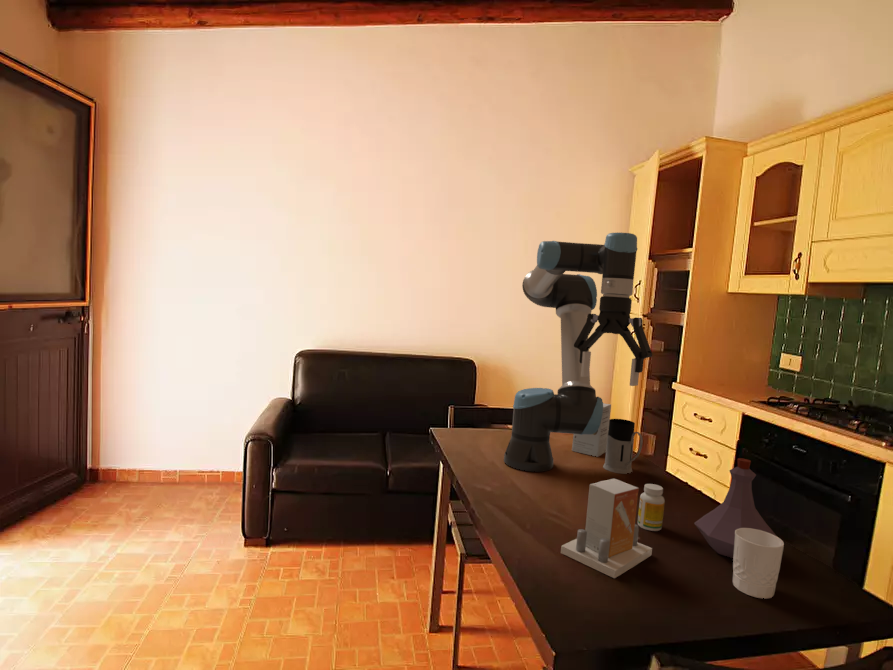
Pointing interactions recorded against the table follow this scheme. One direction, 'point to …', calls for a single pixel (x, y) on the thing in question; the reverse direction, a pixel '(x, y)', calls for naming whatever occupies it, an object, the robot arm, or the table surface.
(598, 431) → the supplement box
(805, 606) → the table surface
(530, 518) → the table surface
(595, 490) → the small box
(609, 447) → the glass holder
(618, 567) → the pin tray
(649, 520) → the supplement bottle
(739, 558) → the white cup
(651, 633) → the table surface
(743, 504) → the flask
